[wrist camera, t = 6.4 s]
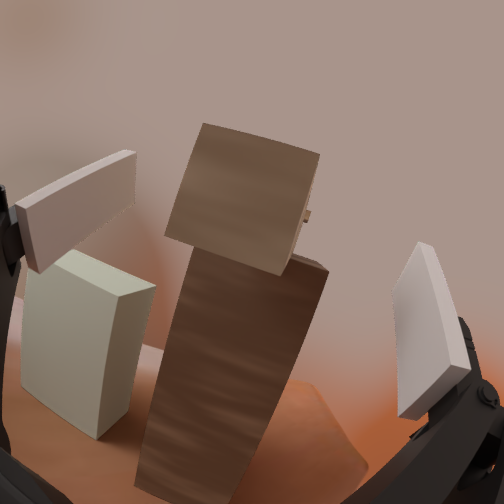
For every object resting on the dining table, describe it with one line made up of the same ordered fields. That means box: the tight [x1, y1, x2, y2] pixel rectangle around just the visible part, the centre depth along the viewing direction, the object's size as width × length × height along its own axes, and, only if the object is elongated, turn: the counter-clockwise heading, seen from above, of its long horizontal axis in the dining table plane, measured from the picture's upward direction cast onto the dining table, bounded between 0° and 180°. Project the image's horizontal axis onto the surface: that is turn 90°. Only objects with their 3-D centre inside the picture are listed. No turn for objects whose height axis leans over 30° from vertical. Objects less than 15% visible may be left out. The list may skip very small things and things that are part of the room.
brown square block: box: [164, 123, 320, 276], centre depth 25 cm, size 30×5×5 cm, turn 171°
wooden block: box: [134, 246, 329, 504], centre depth 31 cm, size 14×10×29 cm
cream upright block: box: [21, 250, 156, 440], centre depth 35 cm, size 9×14×20 cm, turn 81°
